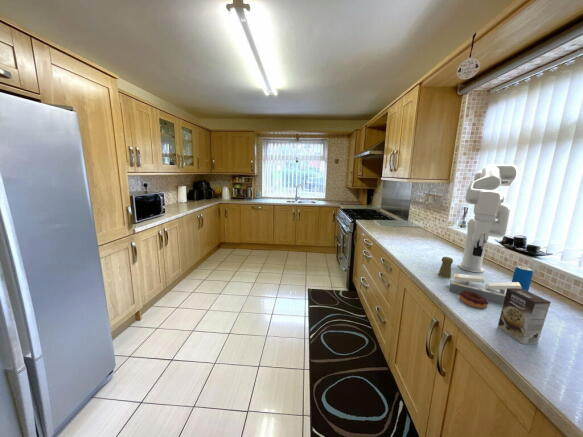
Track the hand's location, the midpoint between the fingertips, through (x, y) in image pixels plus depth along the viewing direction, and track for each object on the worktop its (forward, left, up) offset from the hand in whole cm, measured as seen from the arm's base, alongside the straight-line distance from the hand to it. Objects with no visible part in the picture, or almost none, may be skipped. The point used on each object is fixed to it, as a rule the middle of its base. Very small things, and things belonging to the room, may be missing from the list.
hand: (476, 255), depth 107 cm
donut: (+11, 0, -20) cm, 22 cm away
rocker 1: (0, -1, -12) cm, 12 cm away
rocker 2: (0, +12, -12) cm, 17 cm away
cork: (-15, -10, -19) cm, 26 cm away
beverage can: (-19, +22, -19) cm, 35 cm away
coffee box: (+29, +11, -19) cm, 36 cm away
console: (+1, +6, -19) cm, 20 cm away
